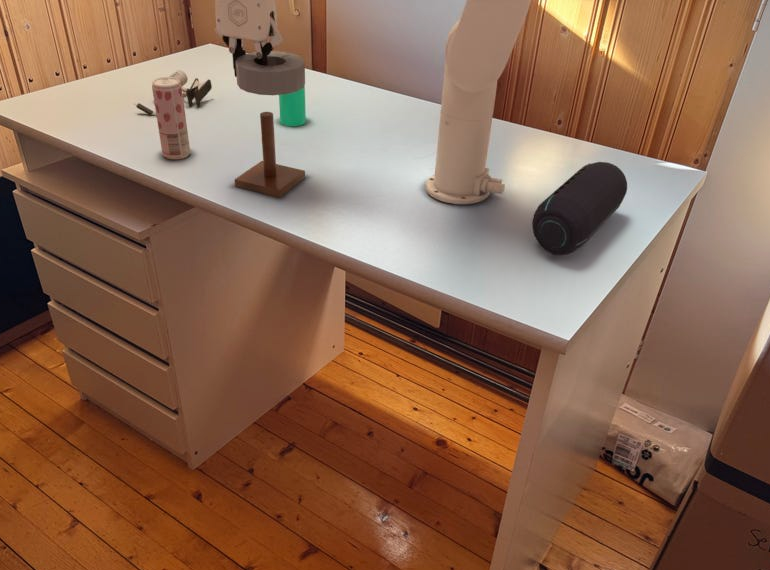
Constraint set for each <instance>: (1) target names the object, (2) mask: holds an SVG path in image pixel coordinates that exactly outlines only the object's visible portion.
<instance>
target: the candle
mask: <svg viewBox="0 0 770 570" xmlns="http://www.w3.org/2000/svg"><path fill="white" fill-rule="evenodd" d="M278 99H279V100H278V104H279V105H278V106H279V122H280V124H281V125H283V126H286V127H300V126H303V125H305V124H306V123H307V121H306V119H307V118H306V117H307V116H306V84H305V85H304V88H302V89H301V90H299V91H297V92H293V93H289V94H284V95H278Z"/></svg>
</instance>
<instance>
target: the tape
mask: <svg viewBox="0 0 770 570" xmlns="http://www.w3.org/2000/svg"><path fill="white" fill-rule="evenodd" d="M256 57H257V56H256V51H251V52H248V53H247V52H246V54H244V55H242V56H240V57H238V58H237V60H236V61H235V63H236V76H237V77H236V84H237V86H238V88H239V89H240V90H243V91H244V92H246V93H250V94H254V95H258V96H259V95H260V96H279V95H284V94H289V93H293V92H297V91H299V90H301V89H302V88H304V85H305V86H306V61H305V60H304V58H303V57H302V56H300V55H297V54H295V53H291V52H287V51H281V50H280V51H279V50H272V51H271V52H270V54H269V55H267V62H268V66H263V65H259V64H256V63H255V62H254V58H256Z"/></svg>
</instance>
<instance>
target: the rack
mask: <svg viewBox="0 0 770 570" xmlns="http://www.w3.org/2000/svg"><path fill="white" fill-rule="evenodd" d="M259 116H260V117H259V118H260V120H259V121H260V133H261V134H260V135H261V148H262V149H261V150H262V160H260V161H259V162H258V163H256V164H255V165H253V166H252V167H251V168H249V169H247V170H246V171H245V172H243V173H242V174H240V175H238V176H237V177H236V178H234V187H236V188H240V189H244V190H248V191H253V192H256V193H259V194H265V195H268V196H273V197H276V198H281V197H282V196H284V195H285V194H286V193H287V192H289V191H290V190H292V189H293V188H294V187H295V186H296V185H298V184H299V183H300V182H301V181H303V180H304V179H306V170H304V169H299V168H297V167H296V168H295V167H291V166H287V165H282V164H278V163H277V159H276V158H277V157H276V142H275V141H276V140H275V123H274V122H275V120H274V113H273V112H271V111H263V112H260V115H259Z"/></svg>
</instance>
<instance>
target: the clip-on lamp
mask: <svg viewBox="0 0 770 570" xmlns="http://www.w3.org/2000/svg"><path fill="white" fill-rule="evenodd" d="M168 77H173V78H177V79H179V81H180V84H181V88H182V95H183V97H186V98H187V103H188V107H192V106H193V100H194V99H195V100H194V101H195V104H196V105H195V106H196V107H198V108H200V107H201V105H202V104H201V101H202V100H203V99H204V98H205V97H206V96H207V95H208V94H209V92H211V90H212V87H213V86H212V85H213V84H212V80H211V79H207V80H206V81H204V82H201V83H200V82H199V78H198V77H197V78H194V80H193V82H192V84H191V86H190V88H188V87H187V88H186V87H183V86H185V85H186V84H187V83H188V81H189V79H188V75H187V74H186V72H185V71H183V70H180V69H179V70H176V71H175V72H173V73H171V74H170V75H169V76H168ZM151 91H152V92H153V90H152V89H151ZM133 105H135V107H136V108H137V109H138V110H140V111H142V112H144V113H145V114H147V115H149V116H152V115H153V116H156V113H155V112H154V110H152V109H150V108H148V107H147V106H146V105H145V106H144V105H143V104H142V103H140V102H138V103H136V102H134V103H133Z"/></svg>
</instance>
